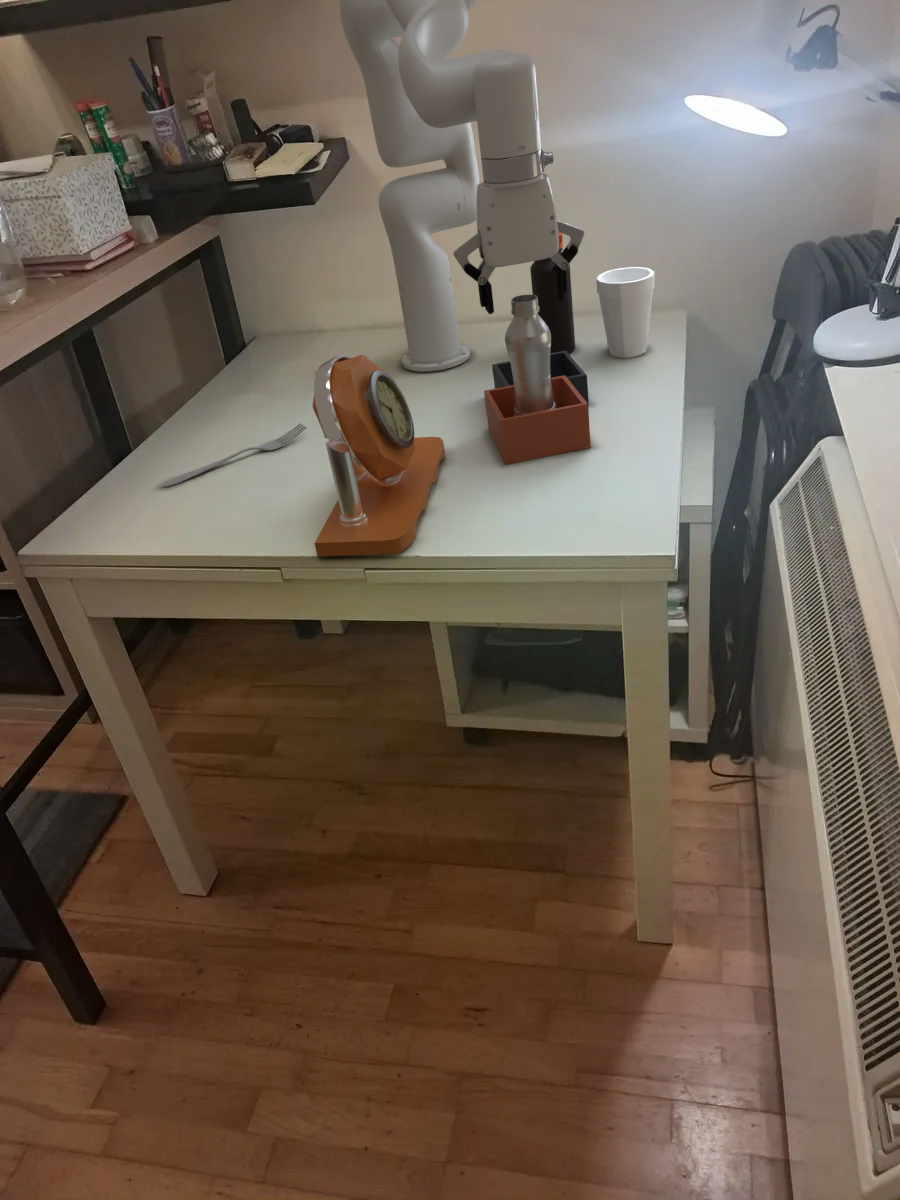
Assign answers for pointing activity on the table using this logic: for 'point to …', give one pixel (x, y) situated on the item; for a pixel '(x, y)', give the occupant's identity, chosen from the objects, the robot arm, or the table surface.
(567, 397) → the terracotta bin
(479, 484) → the table surface
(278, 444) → the fork
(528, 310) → the metal bottle
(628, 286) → the foam cup
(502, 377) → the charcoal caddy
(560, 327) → the vinegar
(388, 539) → the desk clock
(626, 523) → the table surface
